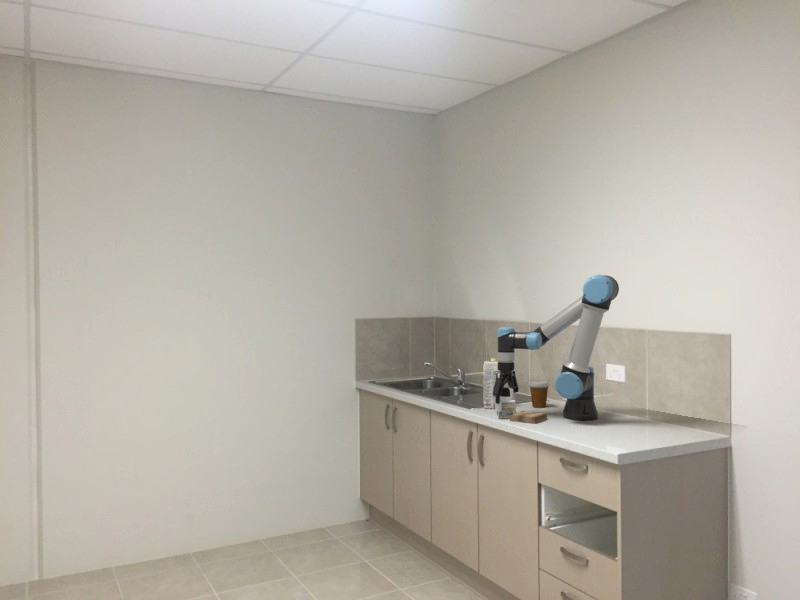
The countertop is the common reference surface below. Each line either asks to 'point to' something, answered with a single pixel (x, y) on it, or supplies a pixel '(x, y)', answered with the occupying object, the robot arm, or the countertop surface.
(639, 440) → the countertop surface
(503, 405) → the container
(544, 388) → the disposable coffee cup
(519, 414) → the stand
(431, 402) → the countertop surface
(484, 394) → the juice carton
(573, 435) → the countertop surface
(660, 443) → the countertop surface
